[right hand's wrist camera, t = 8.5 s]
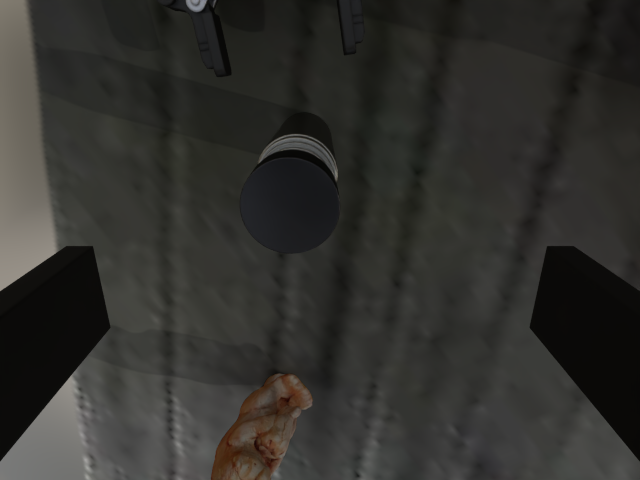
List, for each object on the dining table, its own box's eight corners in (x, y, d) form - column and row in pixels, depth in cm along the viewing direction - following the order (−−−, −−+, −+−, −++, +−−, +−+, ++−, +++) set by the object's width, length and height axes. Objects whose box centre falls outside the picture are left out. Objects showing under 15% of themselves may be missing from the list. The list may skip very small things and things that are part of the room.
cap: (257, 242, 20) (250, 259, 18) (238, 156, 19) (229, 165, 17) (343, 231, 20) (345, 247, 18) (331, 142, 18) (333, 150, 17)
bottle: (283, 169, 37) (249, 259, 19) (274, 116, 35) (226, 159, 17) (334, 162, 37) (349, 246, 19) (327, 108, 35) (336, 144, 17)
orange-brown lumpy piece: (318, 379, 45) (318, 516, 31) (262, 411, 46) (237, 554, 32) (284, 339, 43) (267, 465, 29) (226, 373, 45) (184, 509, 31)
